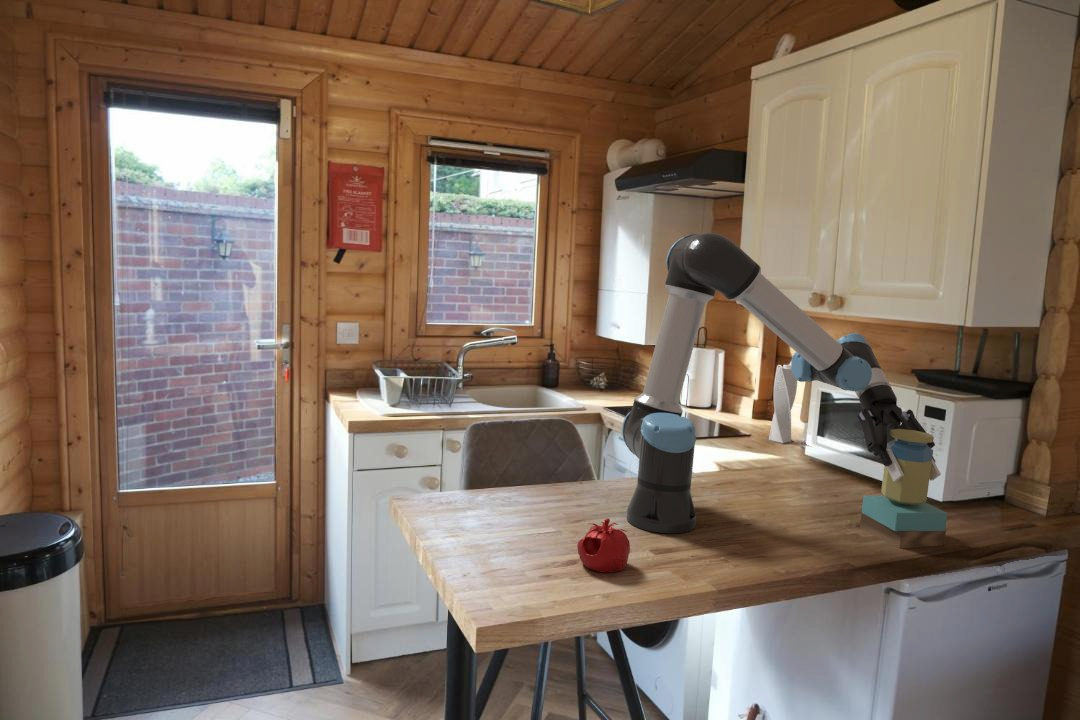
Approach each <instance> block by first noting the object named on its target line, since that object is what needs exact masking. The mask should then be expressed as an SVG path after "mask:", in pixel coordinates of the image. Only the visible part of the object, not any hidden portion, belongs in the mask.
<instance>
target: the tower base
mask: <svg viewBox="0 0 1080 720" xmlns="http://www.w3.org/2000/svg"><path fill="white" fill-rule="evenodd" d="M859 521H860V523H859V529H860V530H862V531H864V532H866V533H867V534H870V535H872V536H874V537H876V538H878V539H880V540H881V541H884V542H886V543H888V544H890V545H892V546H893V547H896V548H898V549H909V548H923V547H937V546H938V545H939V546H945V539H946V532H947V529H946V528H945V531H894V530H892V529H890V528H888V527H887V526H885V525H883V524H881V523H879V522H878V521H876V520H874V519H872V518H871V517H869V516H867V515H865V514H863V513H861V514H860V520H859ZM939 546H938V547H939Z"/></svg>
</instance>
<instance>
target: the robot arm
mask: <svg viewBox="0 0 1080 720" xmlns="http://www.w3.org/2000/svg"><path fill="white" fill-rule="evenodd" d="M665 263H666V269H667V271H668V272H667V274H666V275H667V276H666V280H665V283H664V287H665V290H666V291H667V292H668V297H667V301H666V304H665V305H666V306H665V309H664V313H663V315H662V320H661V324H660V327H659V331H658V335H657V339H656V342H655V346H654V349H653V353H652V357H651V361H650V365H649V367H648V369H649V370H648V372H647V375H646V380H645V384H644V386H643V391H642V393H641V394H639V395H637V396H636V397H634V400H633V404H632V407H631V410H630V411H628V413H627V414H626V416H625V417H624V419H623V422H622V425H621V434H622V439H623V441H624V444H625V446H626V447H627V448H628V450H629V451H630V452H631V453H632V454H633V455H635V456H636V457H637V459H639V460H638V471H637V472H638V473H637V484H636V487H635V489H634V492H633V494H632V497H631V499H630V501H629V504H628V506H627V510H626V520H627V522H628V523H630V525H633V526H634V527H636V528H639V529H640V530H641V529H642V530H645V531H649V532H653V533H661V534H682V533H683V534H684V533H687V532H692V531H693V530H694V529H695V528H696V524H697V513H696V510H695V505H694V501H693V497H692V493H691V491H692V489H691V487H692V479H693V478H692V477H693V466H694V459H695V458H694V456H695V448H696V447H695V445H696V442H697V435H696V426H695V425H694V422H692V420H690V419H689V418H688V417H685V416H682V415H683V412H684V411H683V409H682V407H681V405H680V403H679V402H680V398H681V394H682V391H683V387H684V383H685V380H686V376H687V372H688V369H689V365H690V361H691V357H692V355H693V350H694V346H695V342H696V339H697V334H698V331H699V328H700V324H701V319H702V317H703V313H704V309H705V306H706V304H707V303H708V302H710V301H711V300H713V299H714V298H715V295H716V292H718V293H720V294H722V296H724V297H725V299H727V300H728V301H737V302H738V303H739V304H740V305H742V306H743V308H745V309H746V310H747V311H749V312H750V313H751V314H752V315H753V316H754V317H755V318H757V320H758V321H760V322H761V323H762V324H763V325H764V326H766V327H767V328H768V329H769V330H770V331H772V332H773V333H774V334H775V335H776V336H778V337H779V338H780V339H781V340H782V341H783V342H784V343H785V344H787V346H789V347H790V348H791V349H792V350H794V351H795V352H794V353H793V355H792V357H791V362H790V365H791V368H792V372H793V375H794V377H795V378H796V380H797V382H801V383H804V382H805V383H806V382H809V383H810V382H814V381H817V382H821V383H824V384H827V385H830V386H833V387H835V388H839V389H841V390H843V391H848V392H849V391H850V392H855V394H856V396H857V397H858V400H859V403H860V405H861V407H862V409H863V410H862V411H860V412H859V413H858V414H857V415H856V416H857V419H858V420H859V423H860V424H861V427H862V431H863V437H864V441H865V444H866V448H867V450H868V452H870V453H872V452H873V455H874V456H875V457H879V458H880V460H881V462H882V464H883V466H886V467H887V469H888V471H889V473H890V475H891V477H892V479H893V481H894V482H895V481H898V480H899V479H900V478H901V477H903V476H904V474H903V472H902V470H901V468H900V466H899V464H898V462H897V460H896V458H895V456H894V454H893V452H892V450H891V449H888V450H887V443H888V429H892V430H893V429H905V430H915V431H919V432H924V433H927V431H926V430H925V428H924V427H923V426H922V425H921V423H920V422H919V421H918V420H917V418H916V416H915V414H914V411H913V410H912V409H910V408H909V409H908V410H906V411H904V410H902V409H901V408H899V406H898V404H897V403H898V402H897V401H898V399H897V396H896V394H895V392H894V390H893V388H892V387H891V386H890V382H889V381H888V378H887V377H886V375H885V373H884V371H883V370H882V368H881V366H880V364H879V362H878V360H877V358H876V356H875V354H874V351H873V349H872V347H871V345H870V344H869V342H868V340H866V338H865V337H864V336H863V335H862V334H860V333H855V332H854V333H853V332H852V333H848V334H847V335H843V336H841V337H839V338H838V339H837V340H836V339H835V338H834V337H833V336H832V335H830V334H829V333H828V332H827V331H826V330H825V329H824V328H823V327H822V326H820V325H819V323H818V322H816V321H815V320H814V319H812V317H810V316H809V315H808V313H806V312H805V311H804V310H802V309H801V308H800V307H799V306H798V305H797V304H796V303H794V302H793V301H792V299H790V298H789V297H788V296H787V295H785V293H783V291H781V290H780V289H779V288H778V287H777V286H775V285H774V284H773V283H772V282H771V281H770V280H769V279H767V278H766V277H765V276H764V275H763V274H762V267H761V266H760V265H759V263H757V262H756V261H755V260H754V259H752V258H751V257H750V255H748V254H747V252H745V251H744V250H743V249H742V248H740V247H739V245H737V244H736V243H735V242H733V241H732V239H730V238H729V237H727V236H724V235H723V234H720V233H716V232H706V233H691V234H687V235H685V236H683V237H681V238H679V239H678V240H676V241H675V242H674V243H673V244H672V246H670V248H669V250H668V252H667V256H666V261H665ZM927 445H928V446H929V447H930V448H931V449H933V447H935V446H936V443H935V442H934V441H933V442H929V443H927ZM940 476H941V472H940V470H939V468H938V466H937V464H936V459H935V458H934V456H932V464H931V471H930V479H929V482H930V481H931V482H932V481H934V480H936V479H937V478H938V477H940Z"/></svg>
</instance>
